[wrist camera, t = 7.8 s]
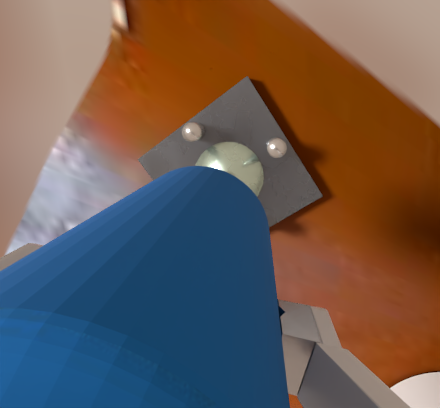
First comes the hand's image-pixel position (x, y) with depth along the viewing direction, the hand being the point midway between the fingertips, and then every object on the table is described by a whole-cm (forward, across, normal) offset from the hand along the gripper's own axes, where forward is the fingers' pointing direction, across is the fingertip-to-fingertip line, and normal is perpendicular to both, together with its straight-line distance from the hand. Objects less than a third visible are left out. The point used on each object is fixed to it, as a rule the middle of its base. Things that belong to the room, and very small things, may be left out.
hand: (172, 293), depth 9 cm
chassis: (+20, 0, 0) cm, 20 cm away
